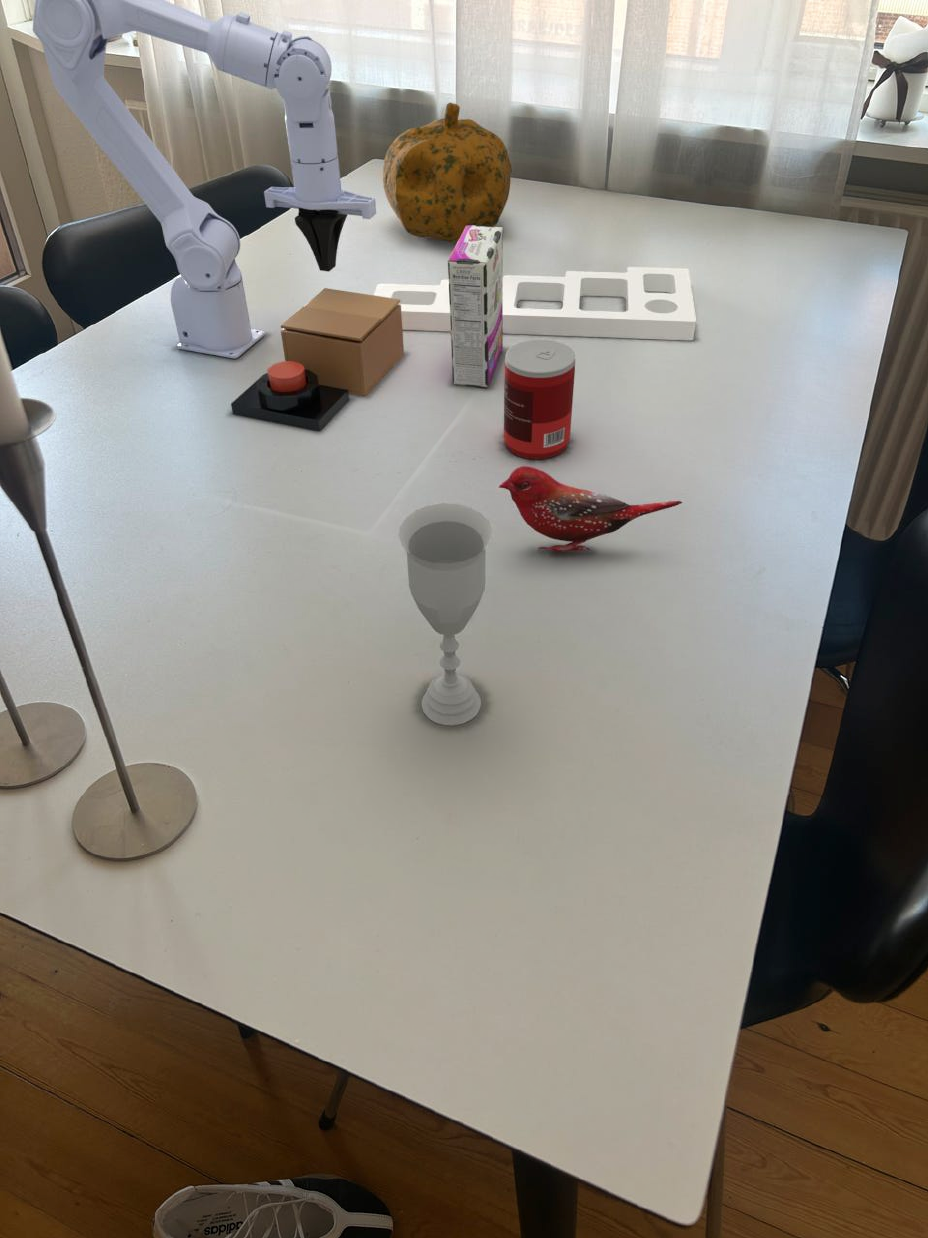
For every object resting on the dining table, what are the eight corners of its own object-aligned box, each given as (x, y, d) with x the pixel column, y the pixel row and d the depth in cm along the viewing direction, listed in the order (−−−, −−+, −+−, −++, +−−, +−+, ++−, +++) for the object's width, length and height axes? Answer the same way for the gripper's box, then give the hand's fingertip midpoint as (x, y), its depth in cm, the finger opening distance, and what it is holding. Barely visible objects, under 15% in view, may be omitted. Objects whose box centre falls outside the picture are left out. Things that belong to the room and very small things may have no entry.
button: (263, 390, 116) (260, 374, 115) (281, 373, 119) (278, 358, 118) (295, 396, 115) (293, 380, 114) (312, 379, 118) (310, 363, 117)
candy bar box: (467, 346, 131) (465, 223, 120) (503, 349, 130) (505, 225, 119) (449, 386, 123) (446, 258, 112) (488, 389, 122) (488, 260, 111)
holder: (368, 328, 135) (366, 309, 134) (389, 276, 149) (388, 259, 147) (693, 340, 131) (696, 321, 129) (686, 286, 145) (688, 268, 143)
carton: (330, 342, 132) (324, 287, 127) (404, 354, 129) (400, 299, 124) (288, 382, 124) (279, 325, 119) (365, 396, 121) (360, 338, 116)
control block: (232, 414, 118) (227, 388, 116) (265, 384, 124) (261, 359, 121) (319, 431, 115) (316, 405, 113) (349, 400, 120) (346, 374, 118)
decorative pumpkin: (393, 200, 171) (395, 76, 157) (510, 215, 170) (522, 91, 156) (369, 248, 157) (368, 116, 143) (496, 265, 156) (509, 133, 142)
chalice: (409, 675, 84) (396, 505, 72) (486, 669, 85) (487, 500, 73) (413, 738, 79) (400, 566, 67) (495, 732, 79) (497, 560, 67)
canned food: (576, 430, 114) (583, 343, 107) (559, 465, 109) (565, 376, 101) (515, 420, 116) (517, 334, 109) (494, 454, 111) (495, 366, 103)
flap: (324, 290, 127) (324, 287, 127) (400, 301, 124) (400, 299, 124) (304, 309, 123) (303, 306, 123) (381, 321, 120) (381, 318, 120)
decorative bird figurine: (497, 542, 98) (498, 458, 92) (672, 543, 98) (686, 459, 91) (497, 560, 96) (498, 475, 90) (676, 561, 96) (690, 476, 89)
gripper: (382, 151, 117) (391, 262, 126) (277, 142, 121) (293, 250, 130) (357, 169, 112) (368, 284, 121) (248, 159, 116) (267, 270, 125)
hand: (327, 268), depth 125 cm, fingers closed
